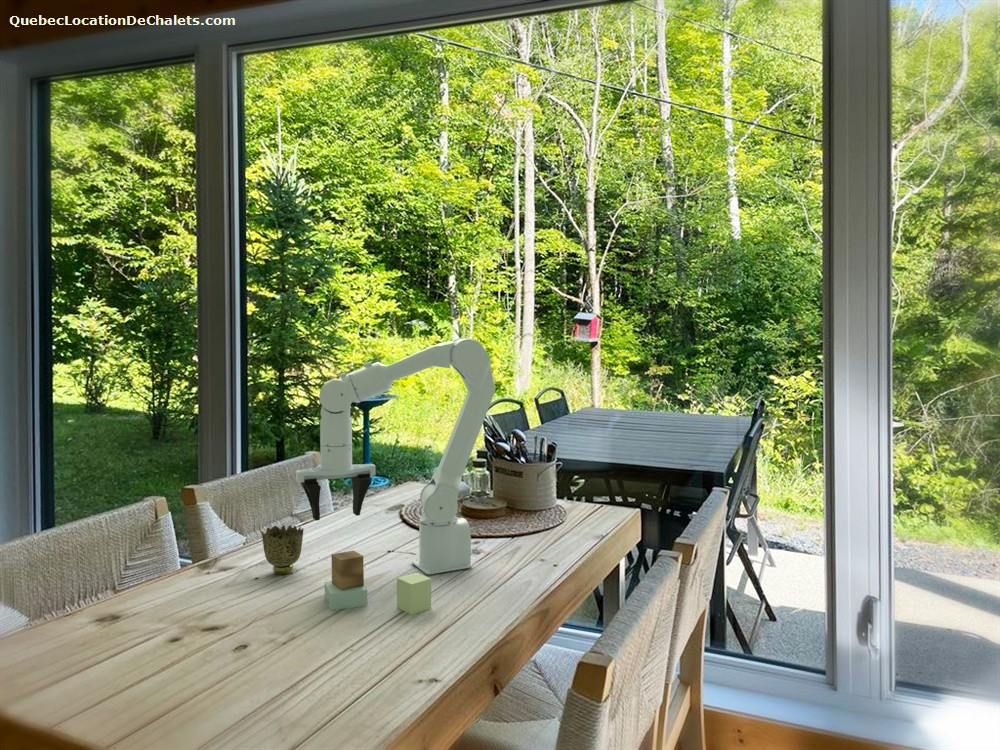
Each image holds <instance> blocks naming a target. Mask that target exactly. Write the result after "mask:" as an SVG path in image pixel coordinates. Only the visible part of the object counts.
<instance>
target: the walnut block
mask: <svg viewBox="0 0 1000 750" xmlns="http://www.w3.org/2000/svg"><path fill="white" fill-rule="evenodd" d="M330 556H331V581H332V584H333V585H335V586H336V587H337V588H339V589H340V590H344V589H349V588H354V587H359V586H364V585H365V582H364V581H365V580H364V579H365V578H364V572H365V570H364V568H365V567H364V555H362V554H361V553H359V552H357V551H355V550H349V551H344V552H337V553H331V555H330Z"/></svg>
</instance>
